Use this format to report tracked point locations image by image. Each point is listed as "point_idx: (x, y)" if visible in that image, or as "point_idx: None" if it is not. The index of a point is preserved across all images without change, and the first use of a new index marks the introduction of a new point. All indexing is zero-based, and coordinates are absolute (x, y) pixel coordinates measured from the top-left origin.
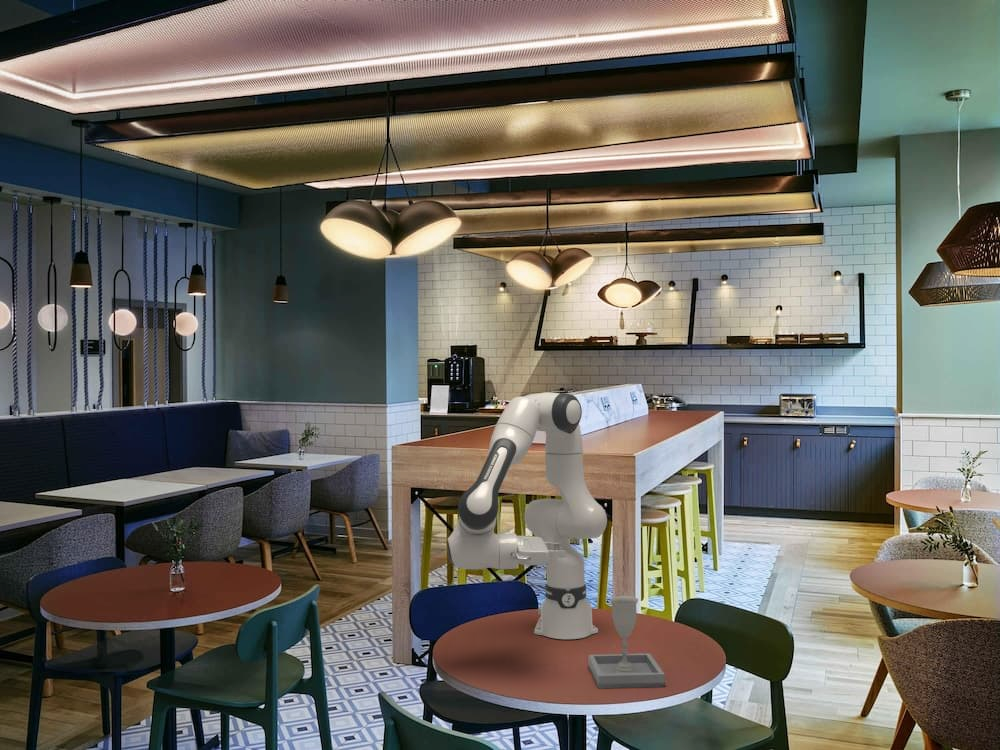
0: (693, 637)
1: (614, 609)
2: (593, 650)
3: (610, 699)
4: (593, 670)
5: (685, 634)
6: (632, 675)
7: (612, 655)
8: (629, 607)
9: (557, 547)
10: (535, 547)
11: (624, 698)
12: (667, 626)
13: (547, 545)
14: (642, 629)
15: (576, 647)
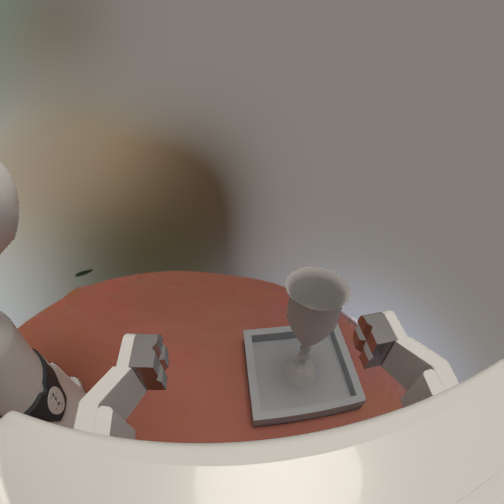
0: (136, 281)
1: (334, 316)
2: (162, 408)
3: (395, 388)
4: (314, 414)
5: (123, 286)
6: (349, 356)
7: (256, 381)
8: (337, 288)
9: (158, 365)
10: (475, 463)
11: (386, 373)
12: (88, 296)
13: (121, 418)
14: (86, 323)
15: (141, 432)
